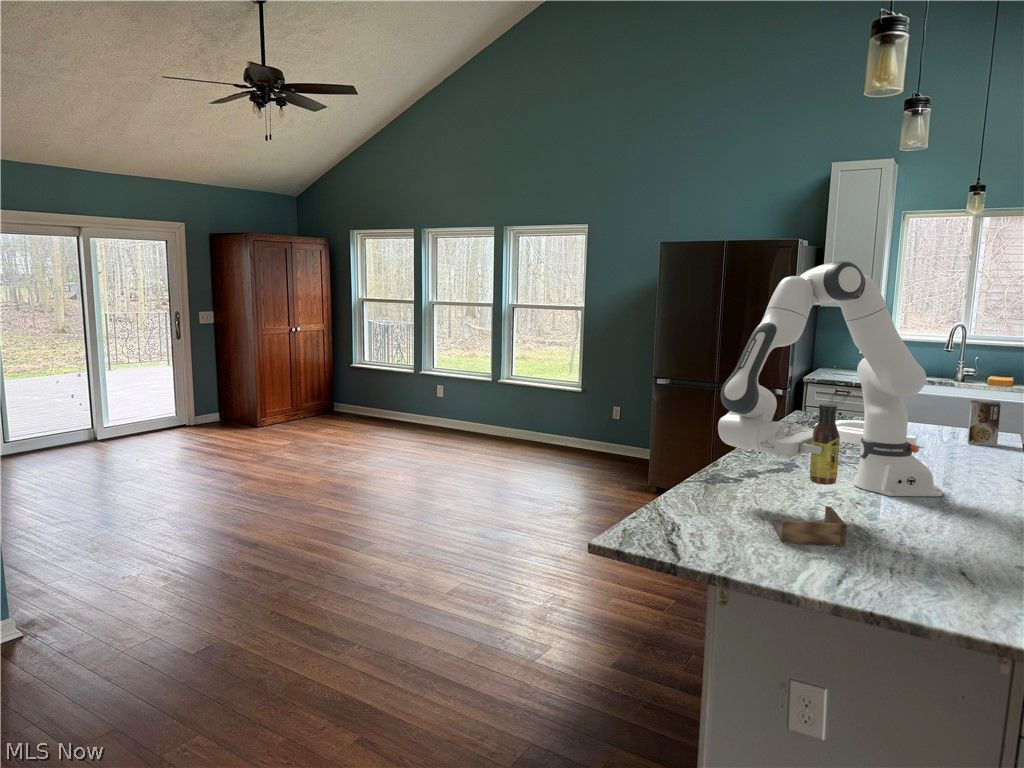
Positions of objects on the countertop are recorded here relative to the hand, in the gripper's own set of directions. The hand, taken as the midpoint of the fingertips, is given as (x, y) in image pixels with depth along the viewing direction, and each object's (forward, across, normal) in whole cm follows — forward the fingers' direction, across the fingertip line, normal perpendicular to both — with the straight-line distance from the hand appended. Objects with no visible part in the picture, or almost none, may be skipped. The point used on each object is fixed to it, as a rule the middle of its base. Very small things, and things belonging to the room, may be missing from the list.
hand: (828, 447), depth 168 cm
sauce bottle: (-1, 0, +9) cm, 9 cm away
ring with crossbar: (-30, +104, +20) cm, 110 cm away
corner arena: (+2, -14, +18) cm, 23 cm away
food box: (+3, +128, +20) cm, 129 cm away
